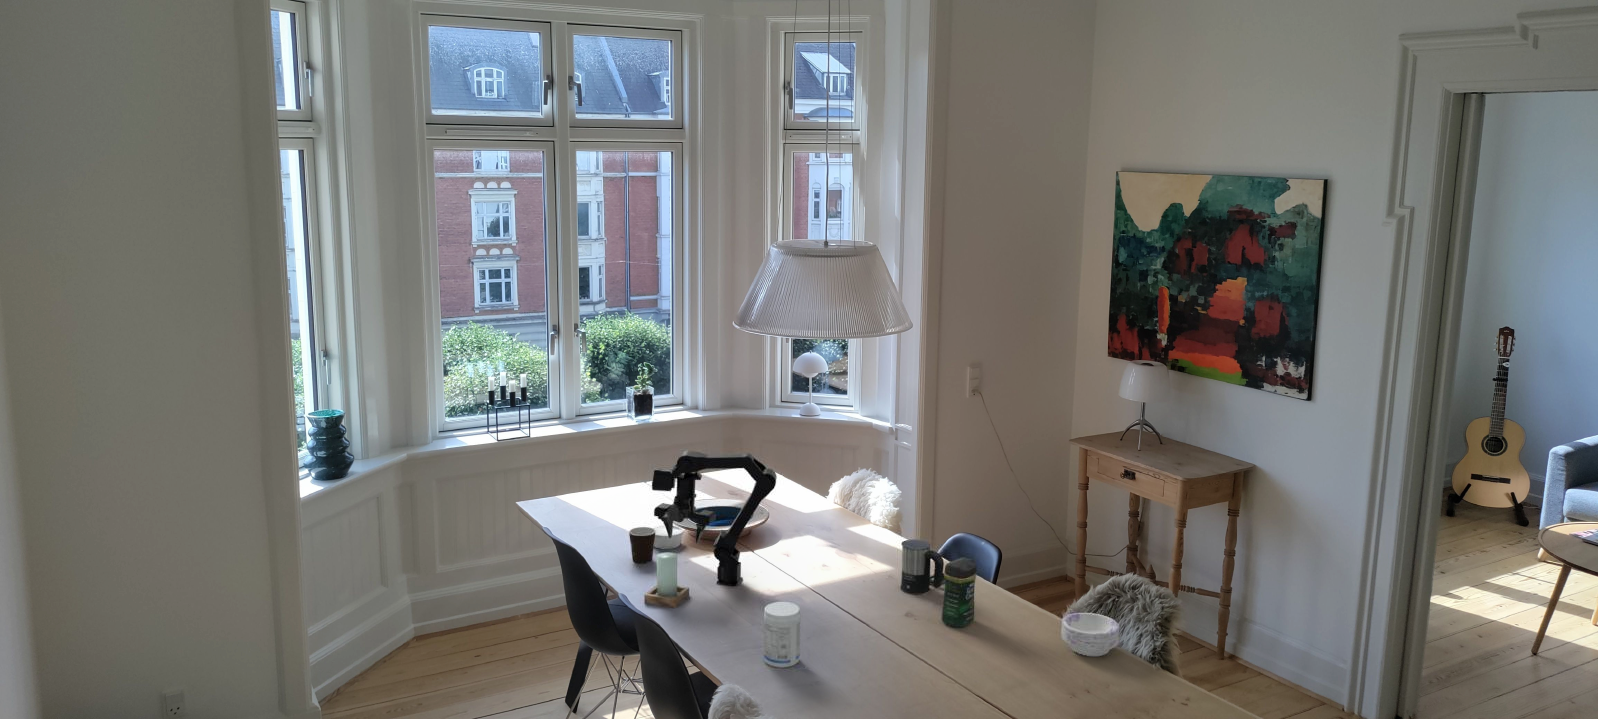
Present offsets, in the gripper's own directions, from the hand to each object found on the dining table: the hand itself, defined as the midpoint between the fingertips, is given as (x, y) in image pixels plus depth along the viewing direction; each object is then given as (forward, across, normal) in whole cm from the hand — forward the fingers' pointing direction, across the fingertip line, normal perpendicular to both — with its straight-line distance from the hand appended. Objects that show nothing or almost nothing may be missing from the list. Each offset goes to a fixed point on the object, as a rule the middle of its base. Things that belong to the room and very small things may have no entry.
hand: (683, 540), depth 337 cm
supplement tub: (+12, +48, -42) cm, 65 cm away
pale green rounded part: (+12, +2, -15) cm, 19 cm away
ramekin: (+14, -18, +28) cm, 36 cm away
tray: (+13, +2, -15) cm, 20 cm away
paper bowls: (+9, +124, -5) cm, 125 cm away
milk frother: (+10, +72, +23) cm, 77 cm away
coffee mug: (+14, -20, +13) cm, 27 cm away
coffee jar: (+10, +87, 0) cm, 88 cm away
